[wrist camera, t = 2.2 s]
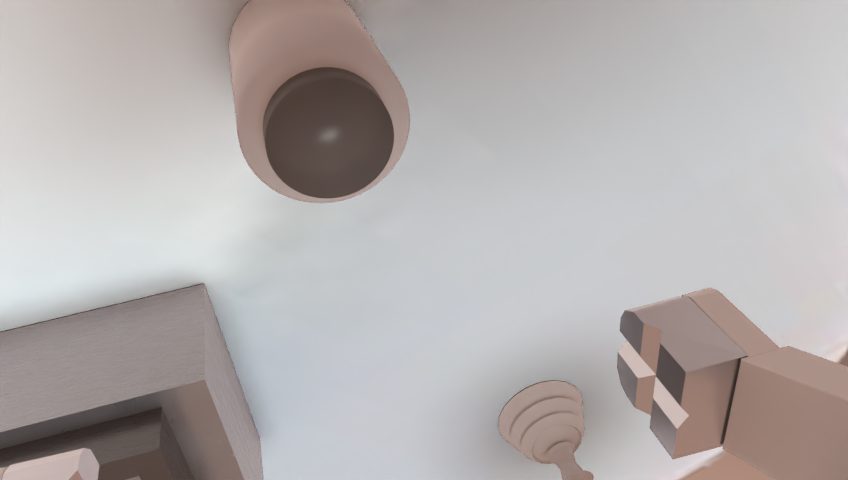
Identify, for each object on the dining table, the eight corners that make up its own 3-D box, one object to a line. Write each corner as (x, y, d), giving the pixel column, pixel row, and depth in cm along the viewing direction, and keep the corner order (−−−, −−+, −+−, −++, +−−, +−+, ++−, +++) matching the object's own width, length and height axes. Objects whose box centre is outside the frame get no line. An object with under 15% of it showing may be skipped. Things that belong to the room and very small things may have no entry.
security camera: (354, -30, 26) (406, 36, 19) (374, 101, 28) (426, 198, 22) (212, -4, 25) (216, 74, 18) (248, 127, 28) (262, 236, 21)
